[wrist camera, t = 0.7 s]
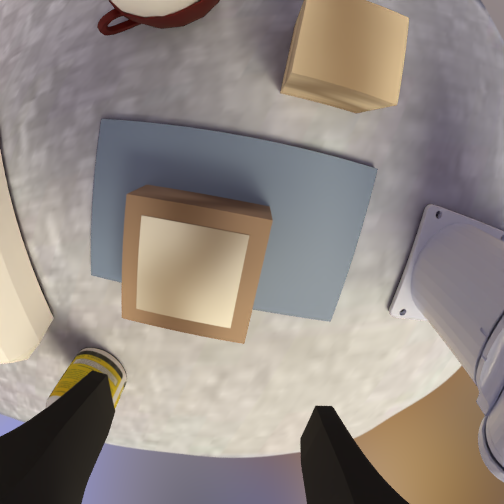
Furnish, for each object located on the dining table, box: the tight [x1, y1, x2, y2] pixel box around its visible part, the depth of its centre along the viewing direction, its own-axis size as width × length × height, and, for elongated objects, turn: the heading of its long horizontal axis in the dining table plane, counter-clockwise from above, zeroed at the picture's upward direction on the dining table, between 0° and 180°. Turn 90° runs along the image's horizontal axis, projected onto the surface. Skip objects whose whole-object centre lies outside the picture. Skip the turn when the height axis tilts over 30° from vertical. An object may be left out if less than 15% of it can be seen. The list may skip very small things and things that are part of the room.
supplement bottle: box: [46, 348, 127, 408], centre depth 18 cm, size 5×5×8 cm
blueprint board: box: [91, 119, 378, 322], centre depth 18 cm, size 16×10×1 cm, turn 79°
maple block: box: [280, 0, 409, 113], centre depth 12 cm, size 4×4×6 cm
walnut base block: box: [122, 185, 273, 344], centre depth 17 cm, size 7×7×3 cm
